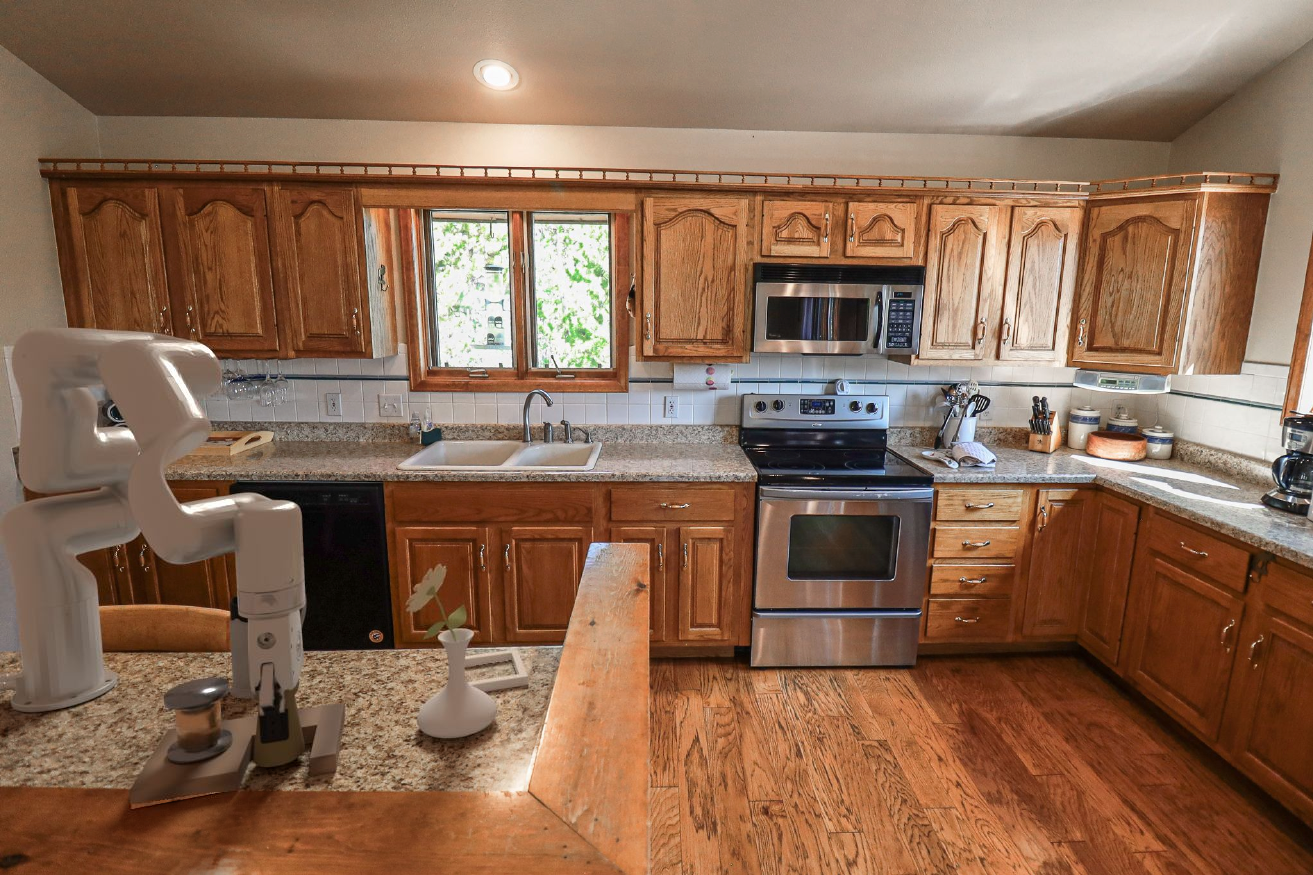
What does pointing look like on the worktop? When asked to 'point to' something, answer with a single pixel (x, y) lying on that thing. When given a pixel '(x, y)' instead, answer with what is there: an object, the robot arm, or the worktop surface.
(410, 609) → the flower in vase
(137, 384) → the robot arm
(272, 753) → the cork
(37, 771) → the worktop surface
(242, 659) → the glass holder
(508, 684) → the rectangular frame
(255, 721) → the notched board
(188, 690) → the bobbin
